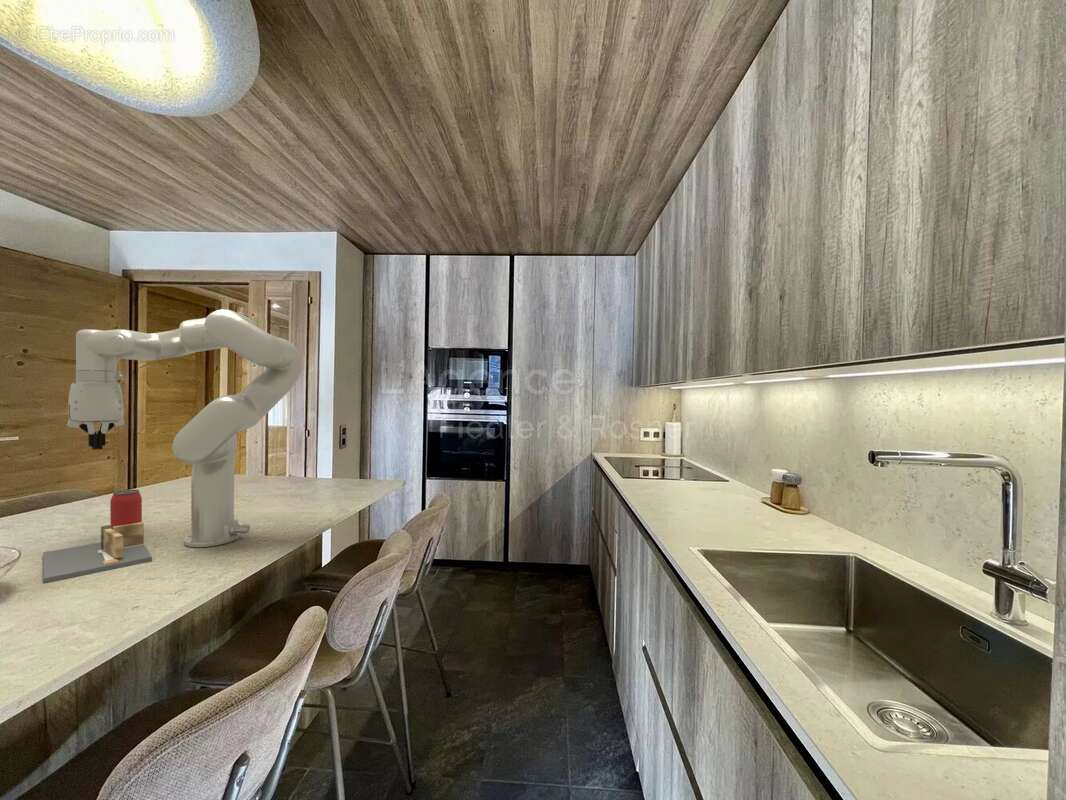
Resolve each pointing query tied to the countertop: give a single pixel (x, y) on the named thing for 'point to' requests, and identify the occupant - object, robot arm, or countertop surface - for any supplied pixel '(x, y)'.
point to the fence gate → (111, 541)
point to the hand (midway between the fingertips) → (96, 448)
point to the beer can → (125, 508)
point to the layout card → (88, 560)
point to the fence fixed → (131, 534)
